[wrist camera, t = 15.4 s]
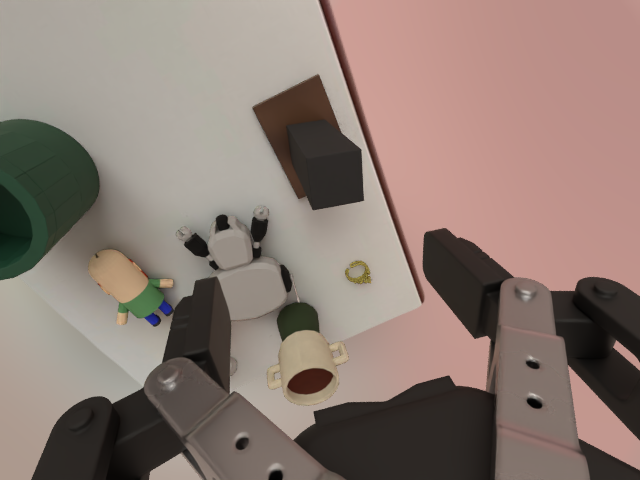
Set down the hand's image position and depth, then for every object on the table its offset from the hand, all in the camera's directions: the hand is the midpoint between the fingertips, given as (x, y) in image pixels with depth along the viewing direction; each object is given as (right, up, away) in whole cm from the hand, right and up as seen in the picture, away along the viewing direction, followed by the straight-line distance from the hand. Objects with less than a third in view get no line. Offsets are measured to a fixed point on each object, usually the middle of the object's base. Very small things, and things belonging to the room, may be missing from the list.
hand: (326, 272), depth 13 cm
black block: (-2, +13, +27) cm, 30 cm away
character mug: (-4, -10, +40) cm, 42 cm away
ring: (+5, -3, +38) cm, 39 cm away
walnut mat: (-2, +13, +28) cm, 31 cm away
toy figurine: (-24, -4, +32) cm, 40 cm away
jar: (-30, +8, +24) cm, 39 cm away
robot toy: (-11, -1, +33) cm, 35 cm away
